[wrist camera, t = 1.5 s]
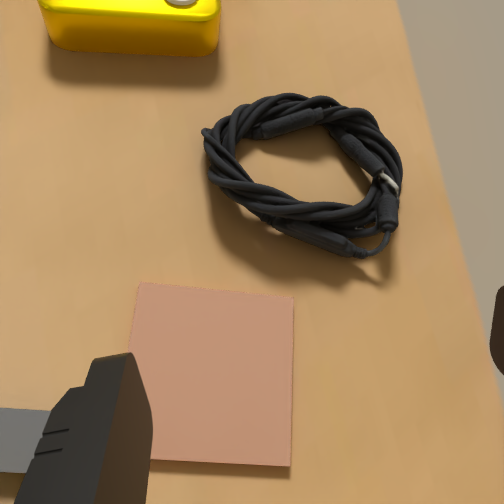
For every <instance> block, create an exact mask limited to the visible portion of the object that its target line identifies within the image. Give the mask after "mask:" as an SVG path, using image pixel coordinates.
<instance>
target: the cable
mask: <svg viewBox="0 0 504 504" xmlns="http://www.w3.org/2000/svg"><path fill="white" fill-rule="evenodd" d="M330 106H331V107H330ZM317 124H322V125H323V126H325V127H326V128H327V129H328V130H329V131H330V135H331V136H332V137H333V138H334V139H335V140H336V141H337V142H338V143H339V146H340V147H341V148H342V150H343V151H344V152H345V153H346V154H347V155H348V156H349V157H351V158H352V159H353V160H354V161H355V162H356V163H357V164H358V165H359V166H360V167H362V168H363V169H364V170H365V171H366V172H368V173H369V174H370V175H371V176H372V177H373V180H372V184H371V187H370V190H369V192H368V194H367V195H366V197H365V198H364V199H363V200H362V201H361V202H360V203H358V204H356V205H354V206H352V205H347V204H341V203H335V202H312V203H309V202H303V201H298V200H296V199H295V198H293V197H292V196H290V195H288V194H286V193H284V192H282V191H280V190H278V189H275V188H273V187H270V186H266V185H262V184H257V183H254V182H253V180H252V179H251V178H250V177H249V175H248V174H247V173H246V171H245V170H244V169H243V168H242V166H241V165H240V164H239V163H238V162H237V160H236V159H235V146H236V144H237V143H238V142H239V141H240V139H242V138H253V139H254V140H258V139H261V138H263V139H270V138H272V137H275V136H279V135H282V134H285V133H288V132H291V131H294V130H298V129H301V128H304V127H307V126H310V125H317ZM201 134H202V135H203V136H204V149H205V151H206V153H207V155H208V156H209V160H210V163H211V165H210V167H209V170H208V178H209V180H210V181H211V182H212V183H213V184H215V185H218V186H219V188H220V189H221V190H222V191H223V192H224V193H225V194H226V195H227V196H228V197H229V198H231V199H232V200H234V201H235V202H237V203H239V204H241V205H243V206H244V207H246V208H247V209H248V210H249V211H250V212H251V213H253V214H254V215H256V216H258V217H259V218H260V220H261V221H264V222H266V223H267V224H269V225H272V227H274V228H275V229H276V230H278V231H280V232H282V233H284V234H287V235H290V236H292V237H294V238H297V239H299V240H302V241H305V242H307V243H310V244H312V245H315V246H317V247H320V248H322V249H325V250H327V251H330V252H332V253H335V254H338V255H341V256H345V257H352V256H353V257H356V258H360V259H365V258H366V257H368V256H373V255H376V254H378V253H379V252H381V251H382V250H383V249H384V248H385V247H386V245H387V244H388V242H389V239H390V236H391V233H392V232H394V231H395V229H396V228H397V227H398V208H399V196H400V191H401V183H402V177H403V169H402V163H401V159H400V156H399V154H398V152H397V150H396V149H395V147H394V146H393V145H392V144H391V142H390V141H389V140H388V139H386V138H385V137H384V135H383V134H382V133H381V132H380V129H379V126H378V124H377V121H376V120H375V118H374V116H373V115H372V114H371V113H370V112H369V111H367V110H365V109H362V108H348V107H346V106H341V105H340V104H339V103H338V102H337V101H336V100H334V99H333V98H331V97H328V96H315V97H312V98H308V97H305V96H303V95H300V94H295V93H283V94H279V95H276V96H268V97H264V98H261V99H259V100H257V101H255V102H254V103H252V104H243V105H240V106H238V107H237V108H236V109H235V110H234V111H233V113H232V114H231V115H230V116H226V117H224V118H222V119H220V120H219V121H218V122H217V123H216V124H215V126H214V128H212V129H208V128H203V129H202V130H201ZM223 138H224V139H223ZM222 139H223V143H222V145H221V143H220V142H221V140H222ZM374 222H376V225H375V226H374V227H371V228H367V229H366V228H365V227H364V226H365V225H367V224H369V223H374ZM380 232H383V233H385V235H384V238H383V241H382V242H381V244H380V245H379V246H378V247H377V248H375V249H373V250H370V251H367V249H364V248H360V247H357V246H356V245H354V244H353V243H352V242H351V241H349V240H348V239H349V238H361V237H368V236H372V235H376V234H378V233H380Z"/></svg>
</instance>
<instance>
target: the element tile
mask: <svg viewBox="0 0 504 504" xmlns="http://www.w3.org/2000/svg"><path fill="white" fill-rule="evenodd" d="M37 1H38V4H39V7H40V10H41V13H42V16H43V19H44V22H45V25H46V28H47V31H48V34H49V37H50V39H51V41H52V43H54V44H55V45H56V46H57V47H59V48H62V49H65V50H70V51H81V52H103V53H124V54H146V55H167V56H188V57H200V56H205V55H209V54H211V53H212V52H213V51H215V49H216V47H217V44H218V37H219V26H220V16H221V1H220V0H37Z"/></svg>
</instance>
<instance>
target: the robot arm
mask: <svg viewBox="0 0 504 504" xmlns="http://www.w3.org/2000/svg"><path fill="white" fill-rule="evenodd" d="M490 352H491V356H492V358H493V361H494V363H495V365H496V366H497V368H498V369H499V370H500V372H501V373H502V374H503V375H504V286H502V287H501V288H500V289H499V290H498V292H497V295H496V302H495V309H494V315H493V322H492V329H491V336H490ZM152 440H153V419H152V412H151V407H150V404H149V400H148V397H147V394H146V391H145V388H144V385H143V381H142V378H141V375H140V372H139V369H138V366H137V362H136V360H135V357H134V355H133V354H132V353H131V352H128V353H123V354H117V355H112V356H106V357H101V358H95V359H94V360H93V361H92V363H91V366H90V369H89V372H88V375H87V378H86V381H85V384H84V386H81V387H76V388H70V389H69V390H68V391H67V393H66V394H65V395H64V396H63V397H62V398H61V400H60V401H59V402H58V403H57V404H56V405H55V407H54V408H53V409H52V410H51V413H50V415H49V418H48V420H47V423H46V425H45V427H44V430H43V432H42V438H40V440H39V442H38V445H37V447H36V450H35V452H34V459H32V460H31V462H30V465H29V467H28V470H27V472H26V474H25V477H24V479H23V482H22V484H21V487H20V489H19V492H18V494H17V497H16V499H15V502H14V504H145V503H146V494H147V485H148V476H149V467H150V458H151V449H152Z"/></svg>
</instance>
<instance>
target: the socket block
mask: <svg viewBox="0 0 504 504" xmlns="http://www.w3.org/2000/svg"><path fill="white" fill-rule="evenodd" d="M50 413H51V411H42V410H27V409H11V408H0V472H13V473H26V472H27V470H28V467H29V465H30V462H31V460H32V459H34V452H35V450H36V447H37V445H38V442H39V440H40V438H42V432H43V430H44V427H45V425H46V423H47V420H48V418H49V415H50Z"/></svg>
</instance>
